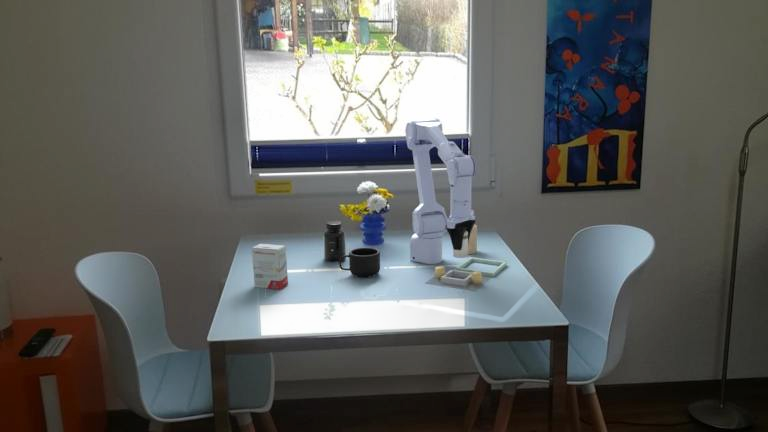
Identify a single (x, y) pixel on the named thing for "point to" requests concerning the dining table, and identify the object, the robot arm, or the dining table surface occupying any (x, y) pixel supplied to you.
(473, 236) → the candle
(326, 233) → the supplement bottle
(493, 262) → the parts tray
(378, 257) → the mug
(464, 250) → the cylinder
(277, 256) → the ink box
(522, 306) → the dining table surface
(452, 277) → the fuse panel
